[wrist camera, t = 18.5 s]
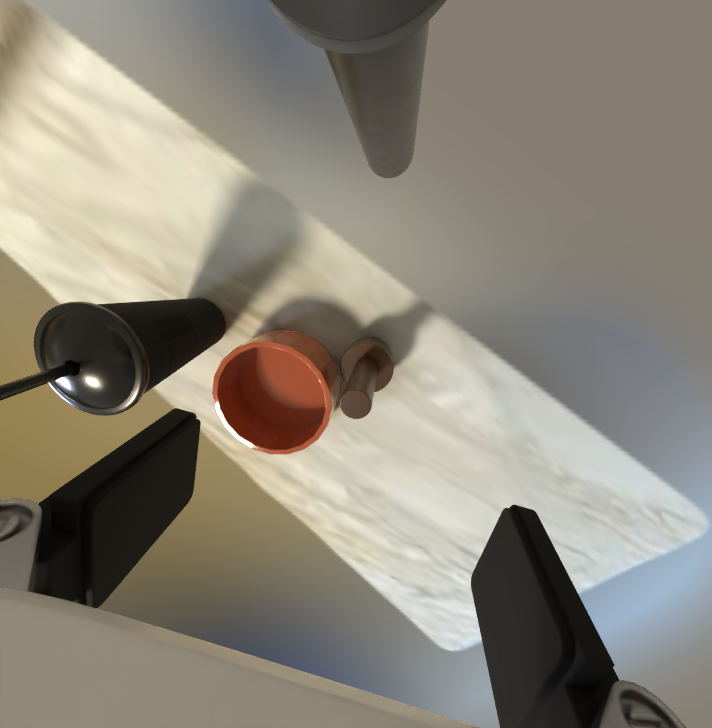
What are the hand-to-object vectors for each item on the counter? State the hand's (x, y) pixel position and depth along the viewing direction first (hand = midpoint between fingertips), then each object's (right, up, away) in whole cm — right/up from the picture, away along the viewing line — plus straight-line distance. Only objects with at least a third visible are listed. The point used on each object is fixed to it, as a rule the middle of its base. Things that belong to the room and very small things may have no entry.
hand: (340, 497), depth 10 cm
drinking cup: (-15, +8, +25) cm, 30 cm away
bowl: (-7, +2, +26) cm, 27 cm away
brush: (+2, +5, +24) cm, 24 cm away
